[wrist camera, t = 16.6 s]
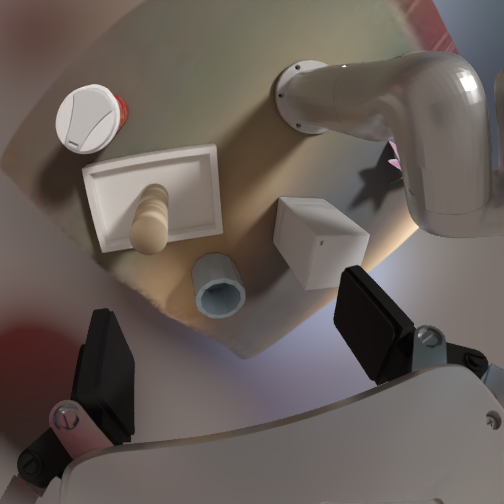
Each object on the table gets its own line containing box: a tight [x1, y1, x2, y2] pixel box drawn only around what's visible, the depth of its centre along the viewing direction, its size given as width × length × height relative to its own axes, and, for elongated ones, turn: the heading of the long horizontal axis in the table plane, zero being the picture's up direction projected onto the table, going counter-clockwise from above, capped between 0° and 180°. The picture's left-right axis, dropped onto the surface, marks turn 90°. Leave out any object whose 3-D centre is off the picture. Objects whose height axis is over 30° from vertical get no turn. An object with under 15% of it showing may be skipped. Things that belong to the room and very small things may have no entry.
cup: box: [191, 253, 246, 319], centre depth 50 cm, size 8×8×8 cm
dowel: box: [129, 183, 169, 255], centre depth 37 cm, size 4×4×14 cm
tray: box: [82, 143, 223, 253], centre depth 42 cm, size 20×14×3 cm
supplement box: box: [273, 197, 370, 290], centre depth 46 cm, size 9×9×15 cm
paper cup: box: [56, 84, 128, 154], centre depth 30 cm, size 8×8×14 cm
